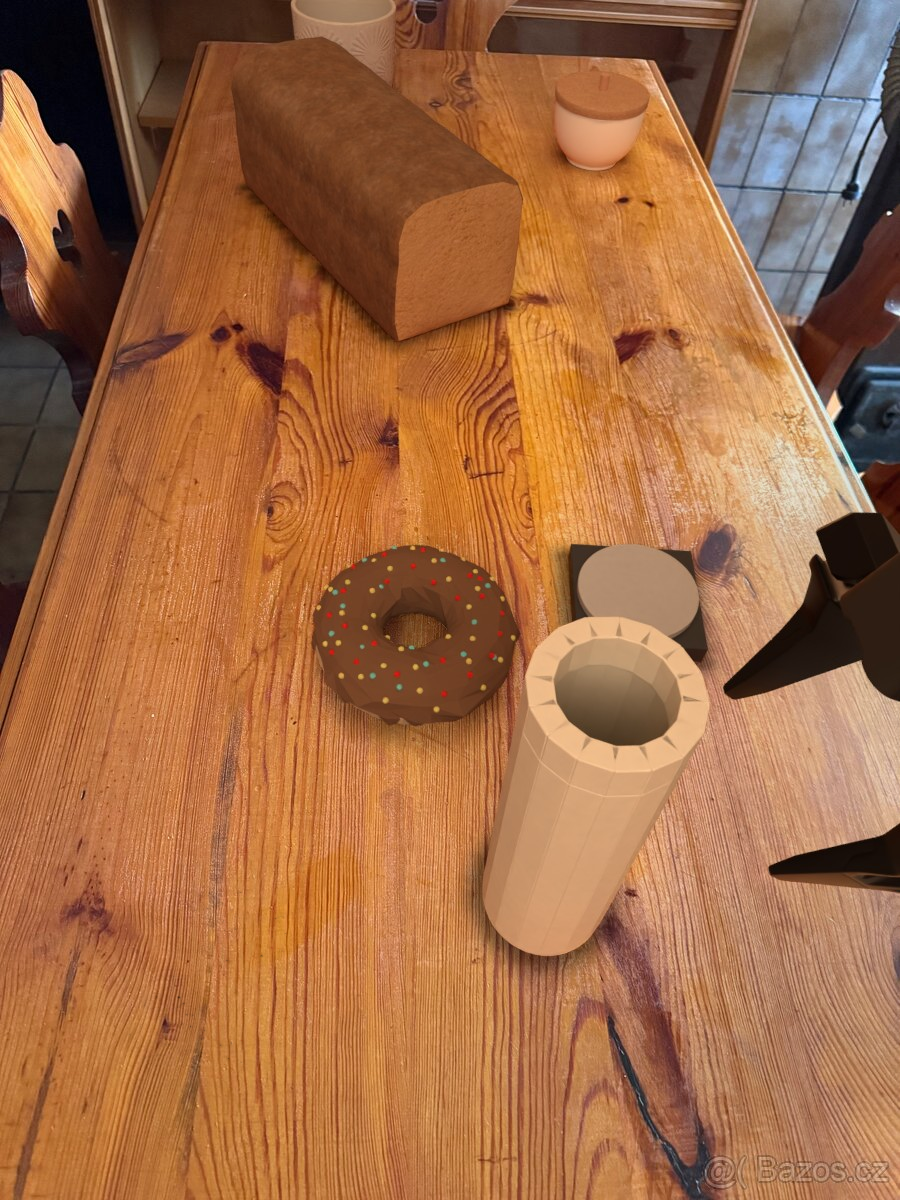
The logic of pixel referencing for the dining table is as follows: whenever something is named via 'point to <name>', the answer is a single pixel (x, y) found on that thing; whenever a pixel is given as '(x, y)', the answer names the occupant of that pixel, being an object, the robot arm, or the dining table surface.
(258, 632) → the dining table surface
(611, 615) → the scale
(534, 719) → the canister
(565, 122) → the trinket box
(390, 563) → the donut
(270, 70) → the bread
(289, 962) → the dining table surface
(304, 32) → the planter
